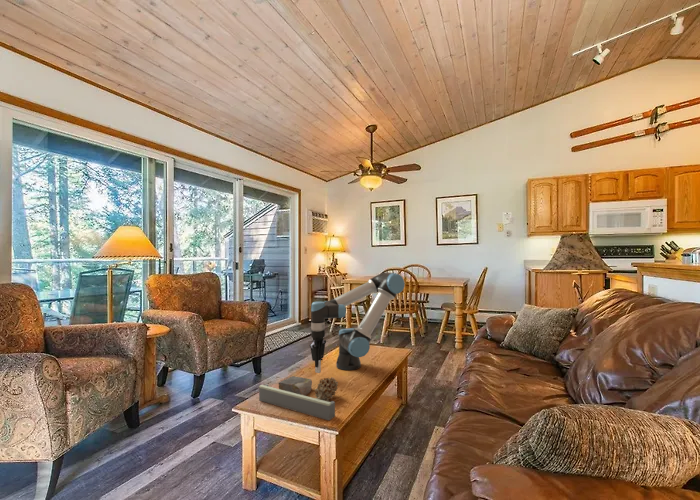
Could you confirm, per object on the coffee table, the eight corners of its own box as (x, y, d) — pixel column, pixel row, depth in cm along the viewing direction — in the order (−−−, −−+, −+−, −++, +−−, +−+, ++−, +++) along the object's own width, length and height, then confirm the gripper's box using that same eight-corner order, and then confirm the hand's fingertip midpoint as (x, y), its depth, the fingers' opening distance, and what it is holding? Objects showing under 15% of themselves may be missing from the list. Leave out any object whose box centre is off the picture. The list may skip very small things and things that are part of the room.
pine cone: (324, 392, 164) (324, 372, 164) (341, 395, 160) (341, 375, 160) (300, 411, 144) (299, 388, 144) (318, 415, 140) (318, 392, 140)
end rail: (266, 396, 159) (266, 382, 159) (334, 415, 140) (334, 399, 140) (259, 400, 155) (258, 386, 155) (328, 420, 136) (328, 404, 136)
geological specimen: (290, 375, 175) (314, 378, 168) (290, 387, 174) (314, 390, 168) (277, 381, 165) (302, 385, 159) (278, 394, 165) (303, 397, 158)
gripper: (316, 332, 175) (316, 377, 175) (330, 328, 187) (330, 370, 186) (305, 331, 179) (305, 374, 179) (319, 326, 190) (319, 367, 190)
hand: (317, 372), depth 182 cm, fingers closed
